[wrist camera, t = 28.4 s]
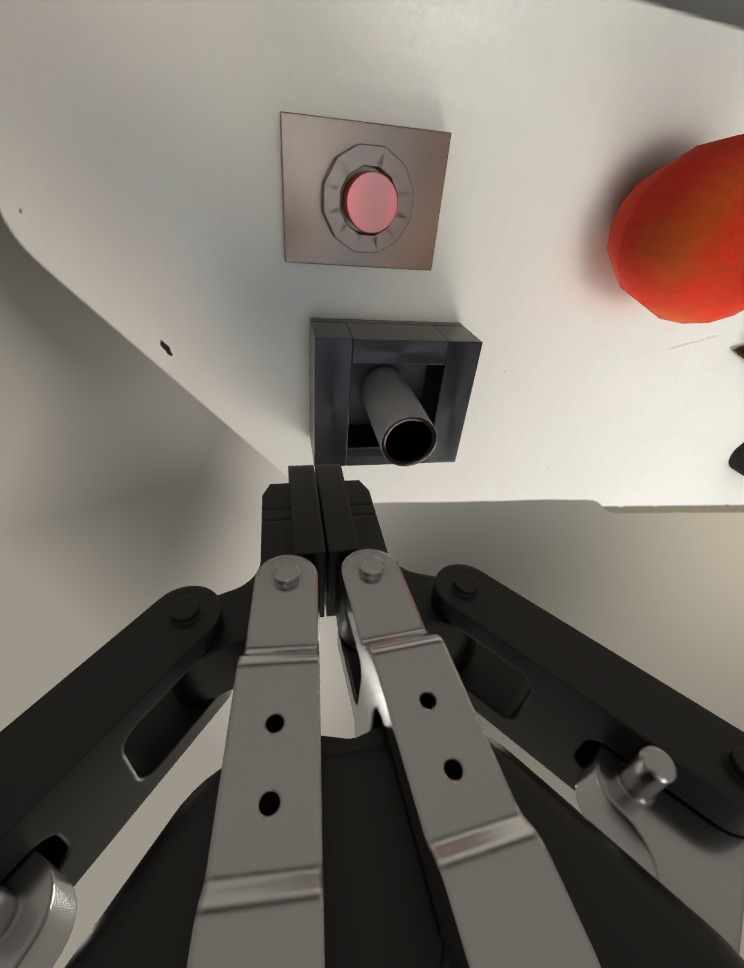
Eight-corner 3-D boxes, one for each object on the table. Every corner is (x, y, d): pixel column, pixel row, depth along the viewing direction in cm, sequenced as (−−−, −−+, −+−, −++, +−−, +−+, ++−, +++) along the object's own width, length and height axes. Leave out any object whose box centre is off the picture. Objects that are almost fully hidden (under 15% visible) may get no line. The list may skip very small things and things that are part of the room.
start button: (342, 228, 32) (345, 231, 31) (344, 168, 30) (348, 168, 28) (389, 231, 33) (394, 235, 31) (394, 173, 31) (400, 174, 29)
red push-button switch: (284, 259, 35) (285, 266, 32) (280, 113, 29) (280, 108, 27) (427, 267, 37) (437, 275, 35) (446, 133, 32) (460, 131, 29)
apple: (564, 307, 42) (672, 360, 30) (584, 152, 34) (735, 147, 23) (684, 281, 42) (831, 324, 31) (728, 124, 35) (941, 106, 24)
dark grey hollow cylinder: (414, 385, 42) (449, 438, 34) (383, 418, 44) (409, 476, 36) (382, 356, 40) (410, 405, 32) (350, 392, 41) (369, 448, 33)
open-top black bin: (310, 437, 45) (314, 467, 40) (310, 318, 38) (315, 338, 33) (438, 434, 47) (455, 462, 43) (460, 322, 40) (483, 342, 36)
